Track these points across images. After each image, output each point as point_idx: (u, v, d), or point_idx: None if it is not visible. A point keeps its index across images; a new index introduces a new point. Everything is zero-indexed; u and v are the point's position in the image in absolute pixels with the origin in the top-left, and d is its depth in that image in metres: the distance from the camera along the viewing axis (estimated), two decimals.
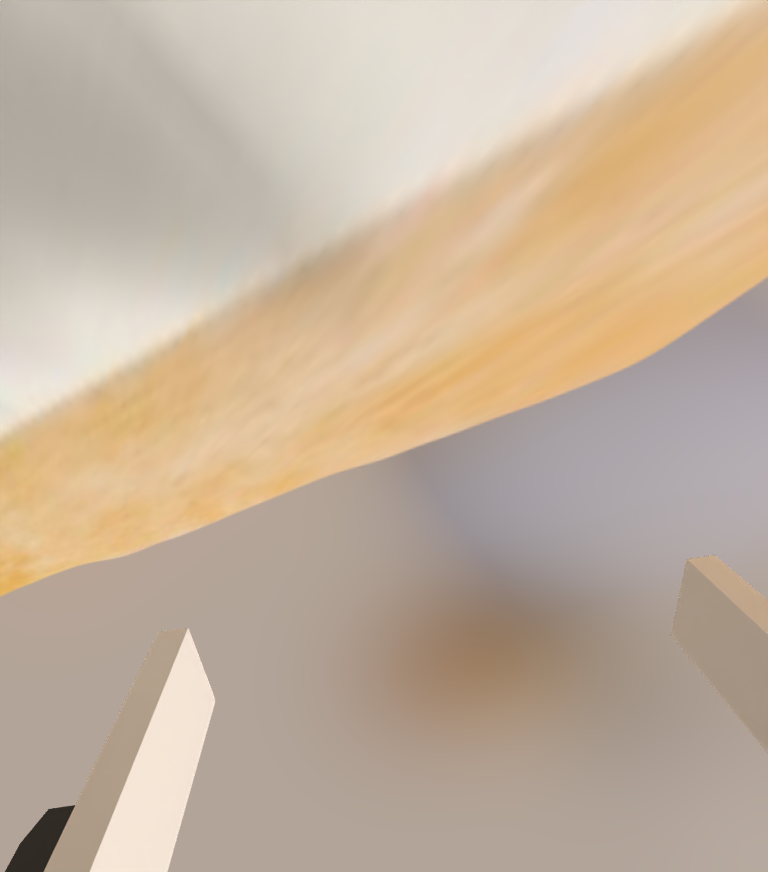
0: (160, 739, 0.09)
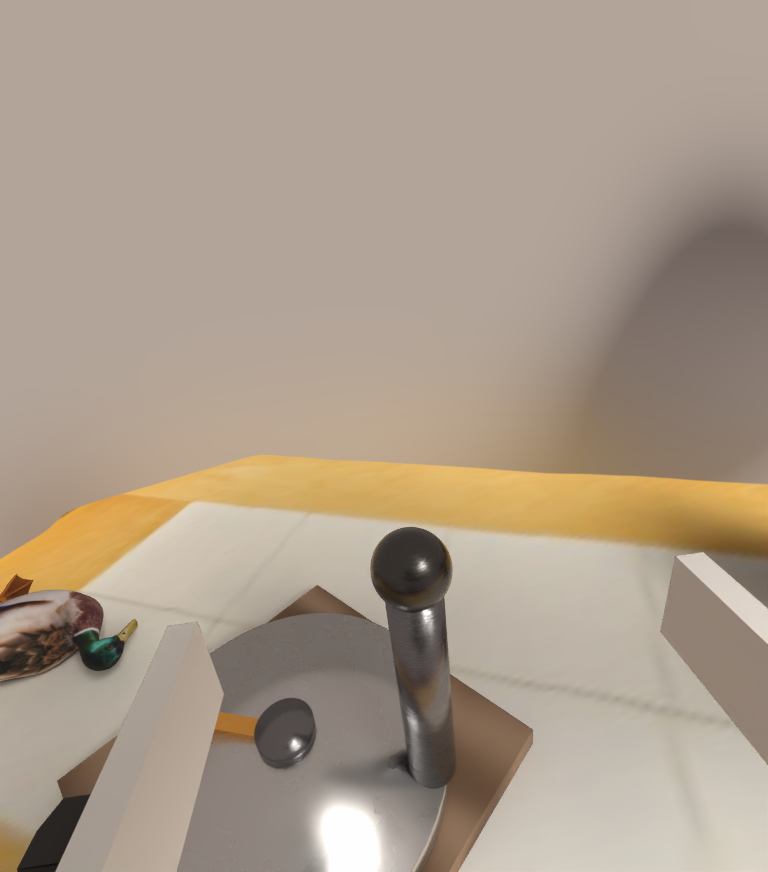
0: (172, 730, 0.10)
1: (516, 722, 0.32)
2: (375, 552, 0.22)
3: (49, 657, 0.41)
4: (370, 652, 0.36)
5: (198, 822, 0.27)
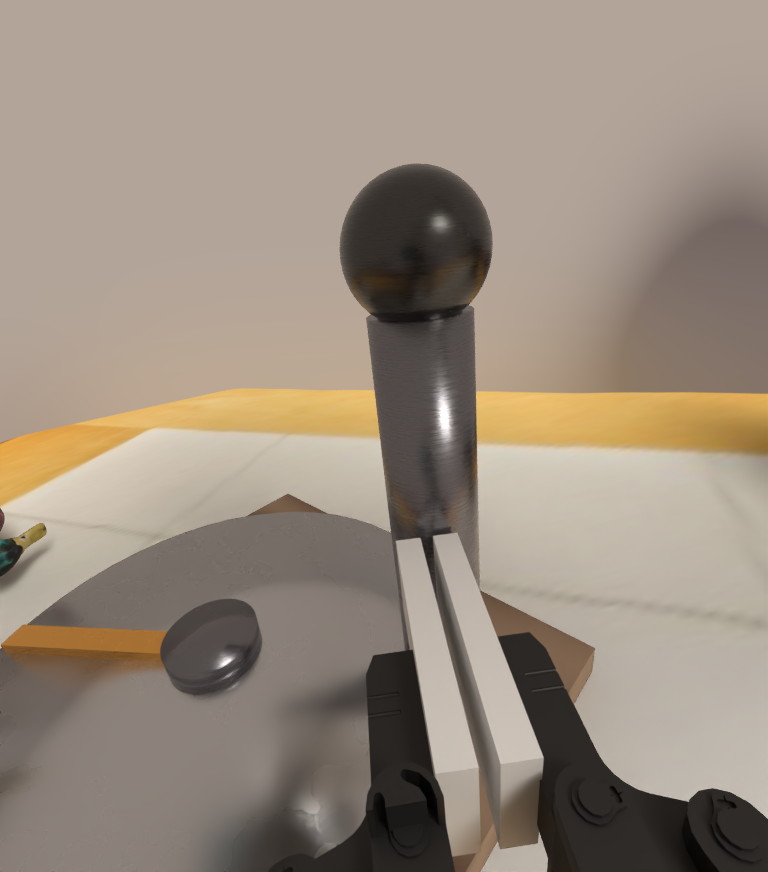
0: None
1: (568, 639, 0.21)
2: (348, 210, 0.11)
3: None
4: (342, 546, 0.26)
5: (51, 784, 0.16)
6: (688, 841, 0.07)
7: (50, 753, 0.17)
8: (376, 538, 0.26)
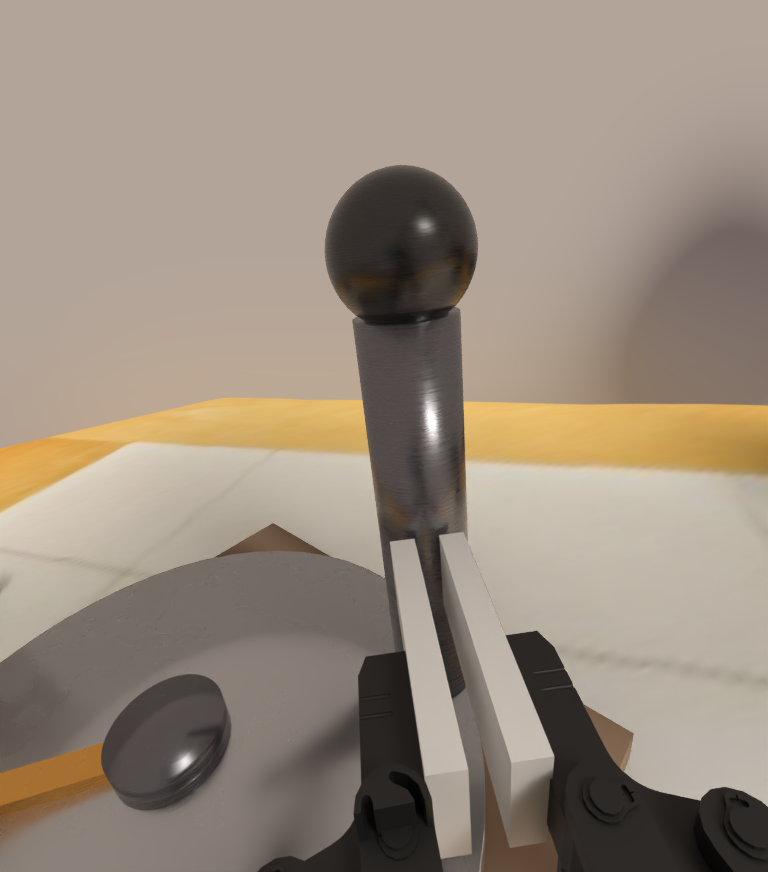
0: None
1: (600, 720, 0.18)
2: (337, 210, 0.11)
3: None
4: (278, 582, 0.24)
5: None
6: (700, 840, 0.07)
7: None
8: (312, 564, 0.25)
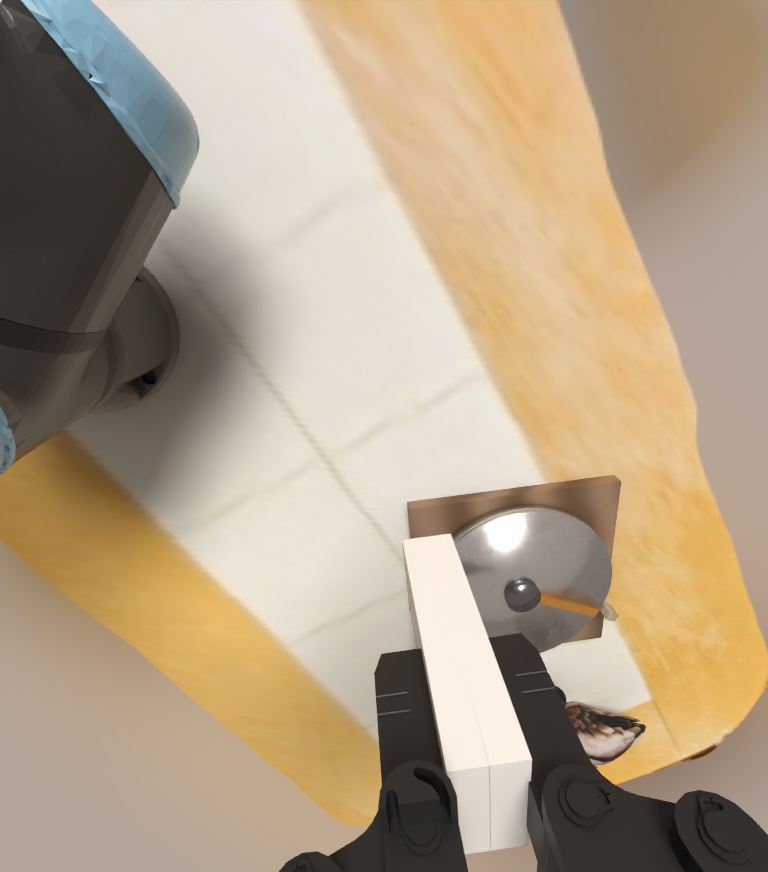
0: None
1: (412, 517, 0.50)
2: None
3: (576, 711, 0.64)
4: None
5: (567, 561, 0.52)
6: (676, 845, 0.07)
7: (570, 569, 0.52)
8: None
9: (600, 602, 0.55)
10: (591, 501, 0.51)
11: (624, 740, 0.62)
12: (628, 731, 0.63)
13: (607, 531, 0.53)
